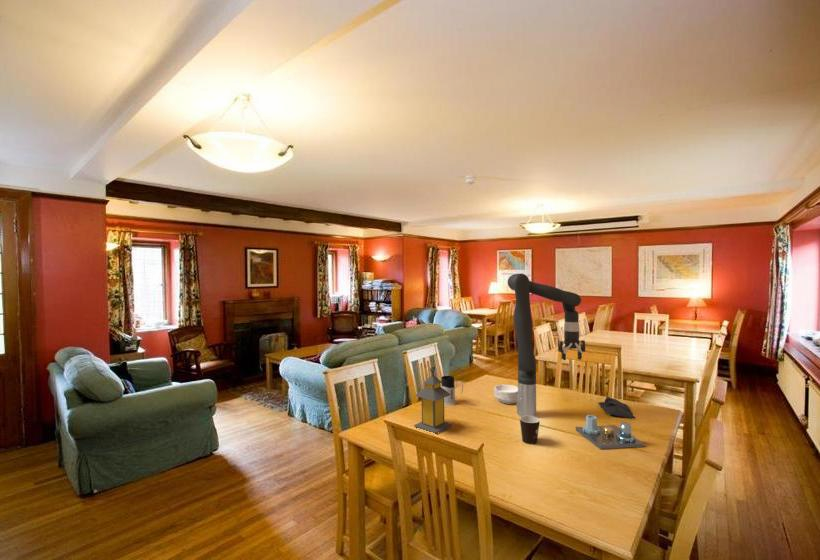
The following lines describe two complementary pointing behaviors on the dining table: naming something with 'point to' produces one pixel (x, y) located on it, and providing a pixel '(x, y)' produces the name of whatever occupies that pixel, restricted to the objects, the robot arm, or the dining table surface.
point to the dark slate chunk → (616, 408)
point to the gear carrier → (612, 437)
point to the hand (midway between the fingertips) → (571, 359)
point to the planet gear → (591, 425)
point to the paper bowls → (506, 393)
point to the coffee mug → (529, 429)
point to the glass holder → (449, 389)
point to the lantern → (433, 405)
